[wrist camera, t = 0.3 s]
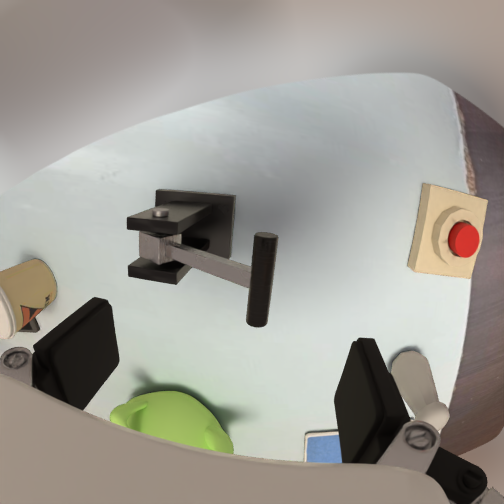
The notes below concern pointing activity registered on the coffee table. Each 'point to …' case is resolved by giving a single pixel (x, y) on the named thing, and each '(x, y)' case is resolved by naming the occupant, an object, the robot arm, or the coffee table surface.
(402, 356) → the salt shaker
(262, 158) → the coffee table surface
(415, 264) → the control box
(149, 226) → the switch bracket
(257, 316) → the lever
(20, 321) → the coffee cup
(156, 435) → the teapot
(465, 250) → the stop button
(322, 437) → the tablet
